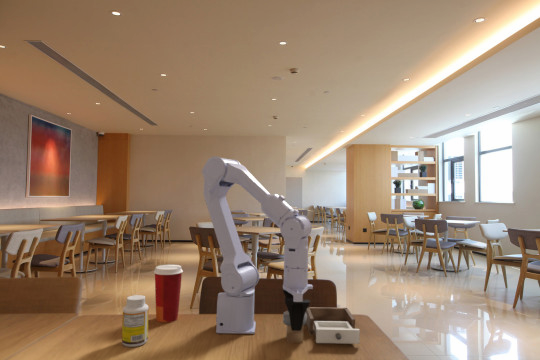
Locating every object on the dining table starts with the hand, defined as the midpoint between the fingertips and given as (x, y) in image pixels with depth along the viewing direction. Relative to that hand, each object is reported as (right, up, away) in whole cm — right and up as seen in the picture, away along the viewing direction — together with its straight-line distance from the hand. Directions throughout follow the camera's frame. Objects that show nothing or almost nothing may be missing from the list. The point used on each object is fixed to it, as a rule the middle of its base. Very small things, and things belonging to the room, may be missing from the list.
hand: (295, 324), depth 89 cm
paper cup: (-34, -4, +12) cm, 36 cm away
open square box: (+9, -4, +7) cm, 12 cm away
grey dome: (0, 0, 0) cm, 0 cm away
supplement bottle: (-37, -3, -4) cm, 37 cm away
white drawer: (+9, -3, 0) cm, 10 cm away
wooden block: (0, -4, 0) cm, 4 cm away
